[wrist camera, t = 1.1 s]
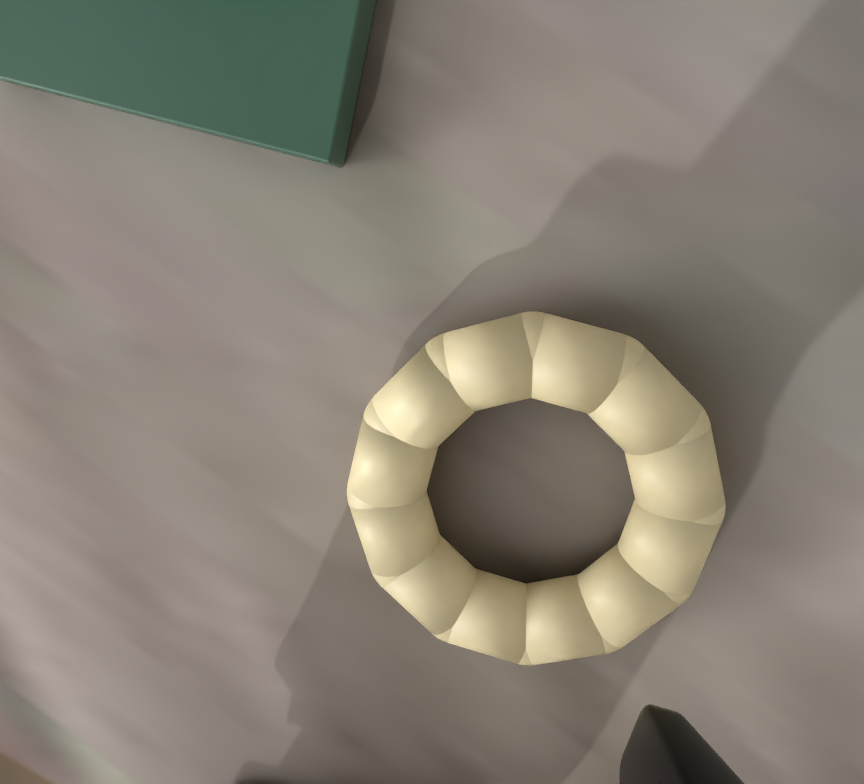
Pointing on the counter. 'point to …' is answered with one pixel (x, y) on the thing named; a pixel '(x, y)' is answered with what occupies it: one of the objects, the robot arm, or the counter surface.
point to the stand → (201, 64)
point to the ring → (568, 387)
